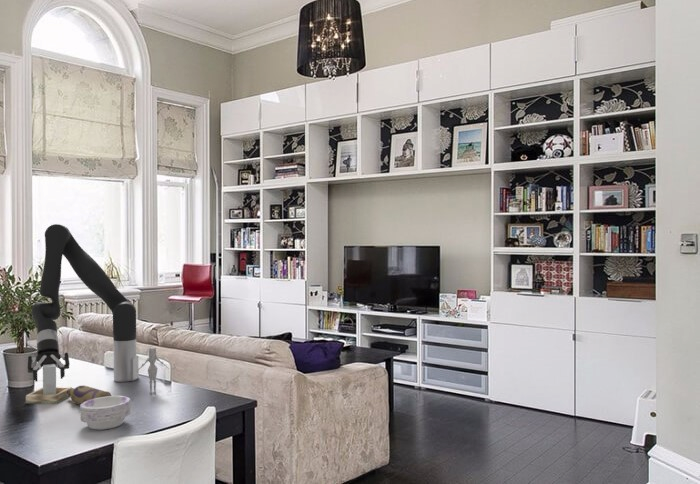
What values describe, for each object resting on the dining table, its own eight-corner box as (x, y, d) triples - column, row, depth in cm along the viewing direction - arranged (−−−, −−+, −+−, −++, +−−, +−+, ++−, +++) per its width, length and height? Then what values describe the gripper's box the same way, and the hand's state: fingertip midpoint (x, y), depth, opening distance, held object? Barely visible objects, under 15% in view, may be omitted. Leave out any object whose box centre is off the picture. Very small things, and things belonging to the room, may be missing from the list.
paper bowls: (80, 422, 195) (80, 398, 195) (129, 416, 201) (129, 392, 201) (79, 436, 181) (79, 410, 181) (132, 429, 187) (132, 404, 187)
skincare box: (56, 398, 221) (56, 366, 221) (43, 399, 219) (43, 367, 219) (55, 394, 227) (54, 363, 226) (42, 396, 224) (42, 364, 224)
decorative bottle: (114, 408, 211) (113, 389, 211) (93, 413, 205) (93, 394, 205) (79, 396, 227) (79, 379, 227) (59, 400, 221) (59, 383, 221)
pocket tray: (71, 394, 228) (71, 387, 228) (56, 403, 217) (56, 395, 217) (42, 395, 229) (42, 387, 229) (25, 403, 217) (25, 395, 217)
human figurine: (167, 390, 234) (167, 345, 233) (169, 392, 230) (169, 347, 230) (136, 394, 228) (135, 348, 228) (137, 397, 225) (136, 350, 225)
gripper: (27, 339, 226) (27, 375, 216) (68, 336, 233) (70, 371, 223) (27, 351, 230) (27, 387, 220) (67, 347, 237) (69, 382, 227)
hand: (49, 378), depth 222 cm, fingers open, 8 cm apart
